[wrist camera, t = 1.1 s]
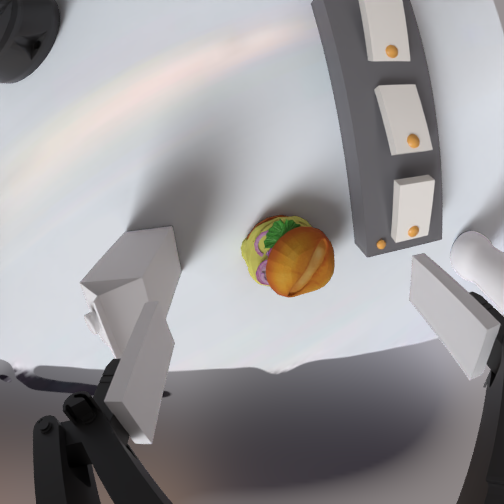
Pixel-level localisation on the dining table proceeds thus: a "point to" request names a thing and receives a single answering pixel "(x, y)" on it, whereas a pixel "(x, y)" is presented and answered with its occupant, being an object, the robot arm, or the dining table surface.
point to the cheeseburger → (288, 255)
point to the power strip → (376, 123)
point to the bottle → (480, 265)
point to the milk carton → (130, 283)
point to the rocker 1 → (385, 30)
